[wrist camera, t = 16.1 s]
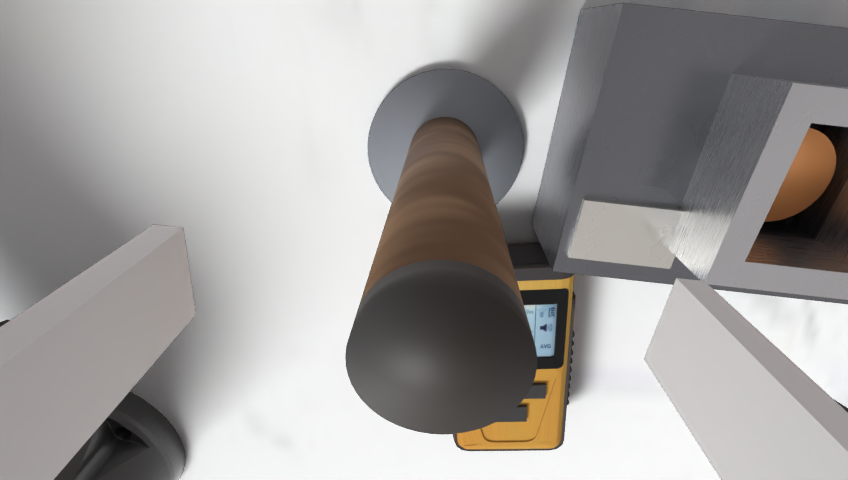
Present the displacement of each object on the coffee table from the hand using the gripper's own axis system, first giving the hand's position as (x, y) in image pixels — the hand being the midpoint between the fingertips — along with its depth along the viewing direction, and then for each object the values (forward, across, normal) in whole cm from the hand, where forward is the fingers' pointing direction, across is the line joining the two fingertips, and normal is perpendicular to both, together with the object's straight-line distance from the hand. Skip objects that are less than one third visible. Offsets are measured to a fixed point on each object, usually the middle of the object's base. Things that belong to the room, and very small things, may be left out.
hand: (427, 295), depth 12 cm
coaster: (+15, +1, 0) cm, 15 cm away
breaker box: (+15, +16, +2) cm, 22 cm away
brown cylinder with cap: (+15, +1, 0) cm, 15 cm away
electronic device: (+17, +8, -19) cm, 27 cm away
